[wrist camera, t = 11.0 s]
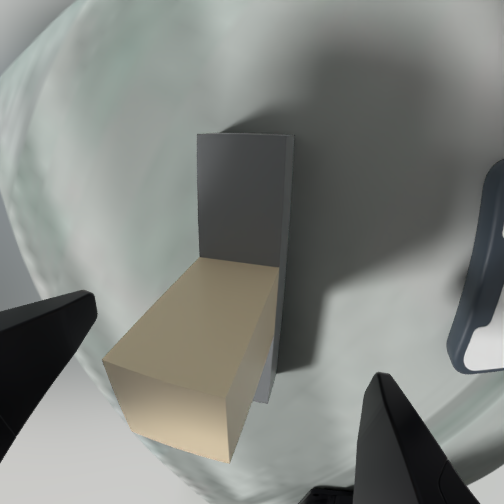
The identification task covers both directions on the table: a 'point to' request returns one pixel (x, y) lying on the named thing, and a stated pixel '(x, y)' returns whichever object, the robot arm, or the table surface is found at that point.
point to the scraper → (215, 305)
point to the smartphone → (483, 289)
